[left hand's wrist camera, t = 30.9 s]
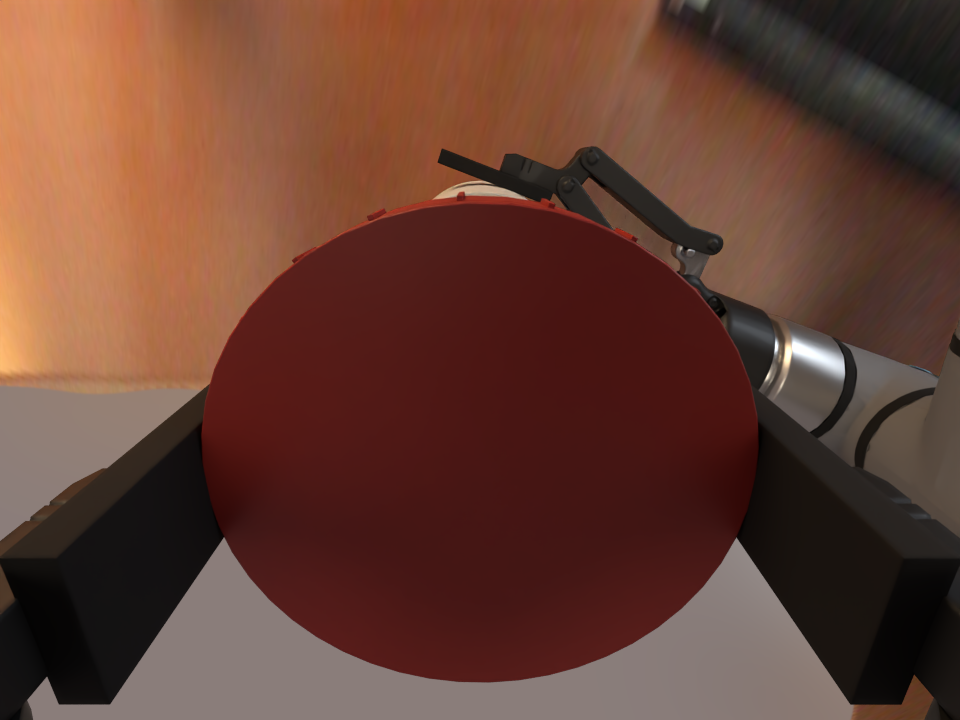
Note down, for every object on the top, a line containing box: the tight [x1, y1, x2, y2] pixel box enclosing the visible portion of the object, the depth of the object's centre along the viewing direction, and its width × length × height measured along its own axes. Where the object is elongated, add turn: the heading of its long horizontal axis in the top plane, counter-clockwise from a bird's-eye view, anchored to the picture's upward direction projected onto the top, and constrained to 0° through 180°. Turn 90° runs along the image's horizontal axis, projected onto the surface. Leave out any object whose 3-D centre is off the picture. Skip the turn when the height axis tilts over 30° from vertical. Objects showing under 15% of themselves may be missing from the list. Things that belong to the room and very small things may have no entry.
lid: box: [201, 192, 759, 682], centre depth 11 cm, size 11×11×2 cm
